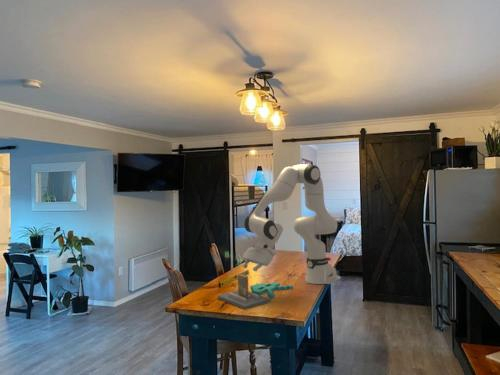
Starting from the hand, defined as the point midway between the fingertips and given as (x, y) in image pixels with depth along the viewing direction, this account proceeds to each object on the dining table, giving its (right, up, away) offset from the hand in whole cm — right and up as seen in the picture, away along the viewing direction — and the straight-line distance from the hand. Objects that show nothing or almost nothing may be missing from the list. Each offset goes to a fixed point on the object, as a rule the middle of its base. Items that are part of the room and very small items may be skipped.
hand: (249, 269), depth 191 cm
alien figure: (+11, -15, +10) cm, 21 cm away
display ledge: (-3, -15, -6) cm, 16 cm away
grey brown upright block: (-3, -13, -6) cm, 15 cm away
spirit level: (-9, -15, +34) cm, 38 cm away
